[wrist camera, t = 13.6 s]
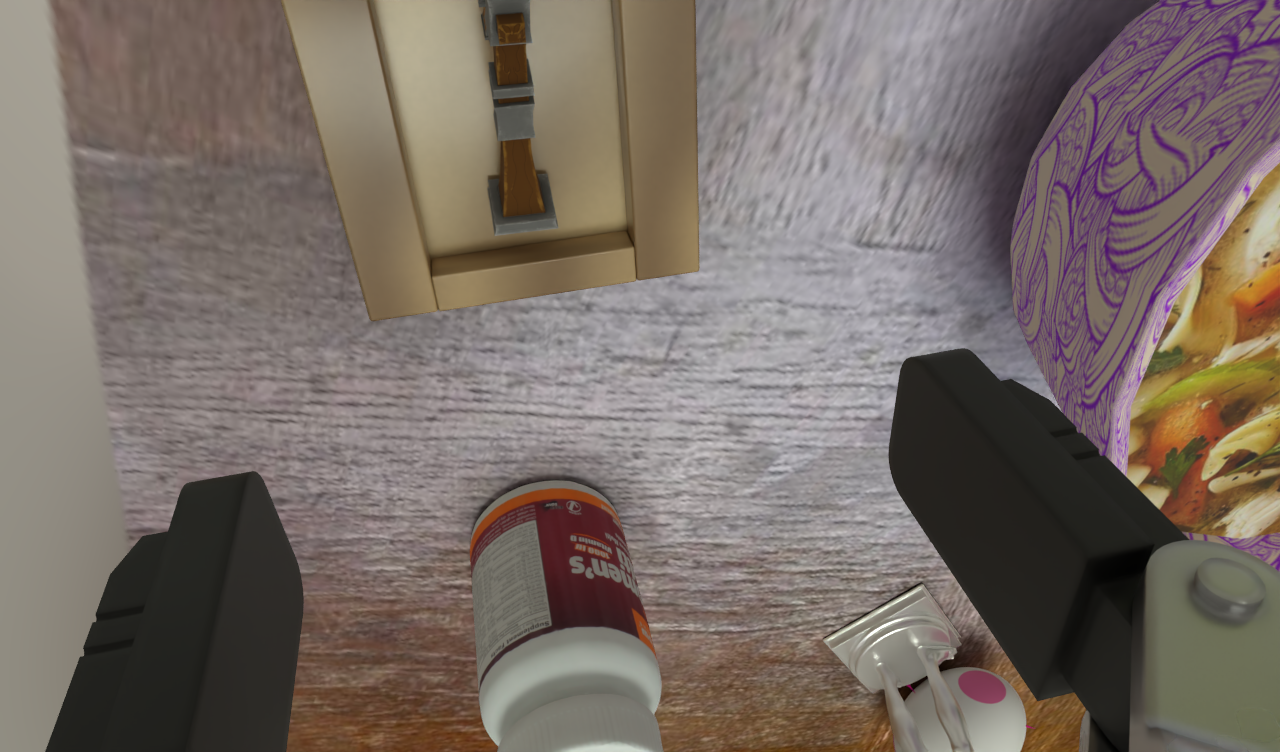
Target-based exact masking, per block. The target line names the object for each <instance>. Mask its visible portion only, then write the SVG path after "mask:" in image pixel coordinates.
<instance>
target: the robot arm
mask: <svg viewBox="0 0 1280 752" xmlns="http://www.w3.org/2000/svg"><path fill="white" fill-rule="evenodd" d="M889 464H890V470H891V474H892V478H893V481H894V484H895V486H896V488H897V491H898V493H899V494H900V496H901V498H902V499H903V501H904V502H905V504H906V505H907V507H908V508H909V510H910V511H911V513H912V514H913V516H914V517H915V519H916V520H917V522H918V523H919V525H920V526H921V527H922V529H923V530H924V532H925V533H926V535H927V536H928V538H929V539H930V541H931V542H932V544H933V545H934V547H935V548H936V550H937V551H938V553H939V554H940V556H941V557H942V559H943V560H944V562H945V563H946V565H947V566H948V568H949V569H950V571H951V572H952V574H953V575H954V577H955V578H956V580H957V581H958V583H959V584H960V586H961V587H962V589H963V590H964V592H965V593H966V595H967V596H968V598H969V599H970V601H971V602H972V604H973V605H974V607H975V608H976V610H977V611H978V613H979V614H980V616H981V617H982V619H983V620H984V622H985V623H986V625H987V626H988V628H989V629H990V631H991V632H992V634H993V635H994V637H995V638H996V640H997V641H998V643H999V644H1000V646H1001V647H1002V649H1003V650H1004V652H1005V653H1006V655H1007V656H1008V658H1009V659H1010V661H1011V662H1012V664H1013V665H1014V667H1015V668H1016V670H1017V671H1018V673H1019V674H1020V676H1021V677H1022V679H1023V680H1024V682H1025V683H1026V685H1027V686H1028V688H1029V689H1030V690H1031V692H1032V693H1033V695H1034V696H1035V698H1036V699H1037V701H1040V700H1044V699H1048V698H1052V697H1056V696H1061V695H1065V694H1069V693H1073V692H1075V694H1076V695H1077V697H1078V698H1079V699H1080V701H1081V702H1082V704H1083V705H1084V706H1085V708H1086V709H1087V710H1086V712H1085V715H1084V717H1083V720H1082V724H1081V731H1080V746H1079V752H1280V572H1279V571H1278V570H1276V569H1275V568H1274V567H1272V566H1271V565H1269V564H1268V563H1266V562H1264V561H1263V560H1261V559H1259V558H1257V557H1255V556H1253V555H1251V554H1250V553H1247V552H1245V551H1242V550H1240V549H1237V548H1235V547H1231V546H1228V545H1225V544H1221V543H1216V542H1211V541H1202V540H1190V539H1188V538H1187V537H1186V536H1185V535H1184V534H1183V533H1182V532H1181V531H1180V530H1179V529H1178V528H1177V527H1176V526H1175V525H1174V524H1173V523H1172V522H1171V521H1170V520H1169V519H1168V518H1167V517H1166V516H1165V515H1164V514H1163V513H1162V512H1161V511H1160V510H1159V509H1158V508H1157V507H1156V506H1155V505H1154V504H1153V503H1152V502H1151V501H1150V500H1149V499H1148V498H1147V497H1146V496H1145V495H1144V494H1143V493H1142V492H1141V491H1140V490H1139V489H1138V488H1137V487H1136V486H1135V485H1134V484H1133V483H1132V482H1131V481H1130V480H1129V479H1128V478H1127V477H1126V476H1125V475H1124V474H1123V473H1122V472H1121V471H1120V470H1119V469H1118V468H1117V467H1116V466H1115V465H1114V464H1113V463H1112V462H1111V461H1110V460H1109V459H1108V458H1107V457H1106V456H1105V455H1103V456H1101V455H1100V454H1099V449H1098V448H1097V447H1096V446H1095V445H1094V444H1093V443H1092V442H1091V441H1090V440H1089V439H1088V438H1087V437H1086V436H1085V435H1084V434H1083V433H1078V432H1077V427H1076V426H1075V425H1074V424H1073V423H1072V422H1071V421H1070V420H1069V419H1068V418H1067V417H1066V416H1065V415H1064V414H1063V413H1062V412H1061V411H1060V410H1059V409H1058V408H1057V407H1056V406H1055V405H1054V404H1053V403H1052V402H1051V401H1050V400H1049V399H1047V398H1045V397H1043V396H1041V395H1039V394H1038V393H1036V392H1034V391H1032V390H1030V389H1028V388H1027V387H1025V386H1023V385H1021V384H1019V383H1017V382H1016V381H1014V380H1012V379H1009V380H1004V381H1000V380H999V379H998V378H997V377H996V376H995V375H994V374H993V373H992V372H991V371H990V370H989V369H988V368H987V367H986V365H985V364H984V363H983V362H982V361H981V360H980V359H979V358H978V357H977V356H976V355H975V354H974V353H973V352H972V351H970V350H968V349H965V348H961V349H955V350H949V351H944V352H938V353H932V354H927V355H921V356H915V357H910V358H908V359H906V360H905V361H904V363H903V365H902V367H901V370H900V375H899V382H898V389H897V396H896V403H895V409H894V416H893V423H892V430H891V437H890V443H889ZM303 604H304V602H303V587H302V580H301V574H300V570H299V566H298V563H297V560H296V557H295V555H294V552H293V550H292V548H291V545H290V543H289V540H288V538H287V535H286V533H285V531H284V528H283V526H282V523H281V521H280V519H279V516H278V514H277V511H276V509H275V506H274V504H273V502H272V499H271V497H270V494H269V492H268V490H267V487H266V485H265V483H264V481H263V479H262V477H261V476H260V475H259V474H258V473H257V472H255V471H252V472H246V473H241V474H235V475H229V476H224V477H218V478H212V479H207V480H201V481H195V482H190V483H187V484H185V485H184V487H183V488H182V490H181V492H180V495H179V498H178V501H177V505H176V508H175V511H174V514H173V517H172V521H171V524H170V527H169V530H168V532H163V533H157V534H152V535H146V536H142V537H141V539H140V540H139V541H138V542H137V543H136V545H135V546H134V547H133V548H132V549H131V550H130V552H129V553H128V554H127V555H126V556H125V558H124V559H123V560H122V561H121V562H120V564H119V565H118V566H117V567H116V568H115V569H114V571H113V572H112V573H111V574H110V577H109V579H108V582H107V585H106V587H105V590H104V593H103V596H102V598H101V601H100V604H99V607H98V609H97V612H96V618H97V621H96V622H94V623H92V626H91V628H90V631H89V634H88V637H87V640H86V642H85V645H84V648H83V649H84V656H83V657H80V658H79V661H78V664H77V667H76V669H75V672H74V675H73V678H72V680H71V683H70V686H69V689H68V691H67V694H66V697H65V699H64V702H63V705H62V708H61V710H60V713H59V716H58V719H57V722H56V724H55V727H54V730H53V732H52V735H51V738H50V740H49V743H48V746H47V749H46V751H45V752H286V747H287V739H288V731H289V723H290V715H291V707H292V699H293V691H294V683H295V675H296V666H297V658H298V650H299V642H300V634H301V626H302V618H303Z"/></svg>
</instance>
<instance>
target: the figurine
mask: <svg viewBox="0 0 1280 752" xmlns="http://www.w3.org/2000/svg"><path fill="white" fill-rule="evenodd" d="M960 637H961V636H960V635H959V633H958V632H957V630H956V629H955V628H954V626H953V625H952V623H951V622H950V621H949V619H948V618H947V617H946V615H945V614H944V612H943V611H942V610H941V608H940V607H939V605H938V604H937V603H936V601H935V600H934V598H933V597H932V596H931V594H930V593H929V592H928V590H927V589H926V587H925V586H924V585H923V584H920V585H919V586H917V587H915V588H913V589H912V590H910V591H908V592H906V593H904V594H903V595H901V596H899V597H897V598H896V599H894V600H892V601H890V602H888V603H887V604H885V605H883V606H881V607H880V608H878V609H876V610H874V611H872V612H871V613H869V614H867V615H865V616H864V617H862V618H860V619H858V620H856V621H855V622H853V623H851V624H849V625H847V626H846V627H844V628H842V629H840V630H839V631H837V632H835V633H833V634H831V635H830V636H828V637H826V638H824V639H823V641H824V642H825V643H826V645H827V646H828V647H829V648H830V649H831V650H832V651H833V652H834V653H835V654H836V655H837V656H838V657H839V659H840V660H841V661H842V662H843V663H844V664H845V665H846V666H847V667H848V668H849V669H850V670H851V672H852V674H853V675H854V676H855V677H856V678H858V680H859V681H860V682H861V683H862V684H864V686H865V687H866V688H868V689H869V690H870V692H871V693H874V692H876V691H878V690H880V689H884V690H885V699H886V705H887V710H888V715H889V720H890V725H891V729H892V732H893V735H894V737H895V739H896V741H897V743H898V745H899V746H900V748H901V749H902V751H903V752H929V751H928V750H927V748H926V747H925V745H924V743H923V741H922V738H921V735H920V732H919V729H918V727H917V724H916V722H915V720H914V718H913V716H912V715H911V713H910V712H909V711H908V709H907V707H906V705H905V703H904V701H903V699H902V697H901V695H900V693H899V691H898V687H899V688H901V687H902V686H906V685H909V684H911V683H914V682H916V681H918V680H920V679H922V678H924V677H925V676H928V680H929V684H930V688H931V691H932V694H933V697H934V703H935V709H936V713H937V716H938V719H939V721H940V723H941V725H942V727H943V729H944V730H945V732H946V734H947V736H948V738H949V741H950V744H951V748H952V752H975V751H974V748H973V745H972V742H971V739H970V735H969V730H968V726H967V723H966V720H965V717H964V714H963V712H962V710H961V708H960V706H959V704H958V702H957V700H956V698H955V696H954V695H953V693H952V691H951V689H950V687H949V686H948V684H947V682H946V681H945V679H944V678H943V676H942V675H941V673H940V671H939V667H938V666H939V665H940V664H941V663H942V662H943V661H944V660H949V659H954V655H955V653H957V651H956V648H957V647H959V646H961V645H962V644H961V643H960V641H959V639H958V638H960Z"/></svg>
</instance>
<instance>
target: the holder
mask: <svg viewBox="0 0 1280 752" xmlns="http://www.w3.org/2000/svg"><path fill="white" fill-rule="evenodd" d="M281 3H282V7H283V10H284V14H285V17H286V21H287V25H288V28H289V32H290V35H291V39H292V43H293V46H294V50H295V53H296V57H297V60H298V64H299V68H300V71H301V75H302V78H303V82H304V86H305V89H306V93H307V96H308V100H309V104H310V107H311V111H312V114H313V118H314V121H315V125H316V129H317V132H318V136H319V139H320V143H321V147H322V150H323V154H324V157H325V161H326V165H327V168H328V172H329V175H330V179H331V182H332V186H333V190H334V193H335V197H336V200H337V204H338V208H339V211H340V215H341V218H342V222H343V226H344V229H345V233H346V236H347V240H348V243H349V247H350V251H351V254H352V258H353V261H354V265H355V269H356V272H357V276H358V279H359V283H360V287H361V290H362V294H363V297H364V301H365V304H366V308H367V312H368V315H369V319H370V320H371V321H377V320H384V319H390V318H397V317H404V316H410V315H417V314H423V313H430V312H436V311H438V309H439V311H445V310H451V309H458V308H464V307H471V306H477V305H484V304H490V303H497V302H503V301H510V300H517V299H523V298H530V297H536V296H543V295H549V294H556V293H562V292H569V291H575V290H582V289H588V288H595V287H602V286H608V285H615V284H621V283H628V282H634V281H636V278H637V280H645V279H652V278H658V277H665V276H671V275H678V274H684V273H691V272H697V271H699V206H698V139H697V72H696V5H695V0H530V32H531V37H532V42H533V43H527V44H526V57H527V59H528V60H529V65H530V70H531V75H532V80H533V85H534V88H533V89H534V94H535V96H533V98H534V103H535V105H534V109H533V126H534V132H535V137H536V138H530V139H531V149H532V156H533V161H534V166H535V169H536V172H537V175H538V174H548V179H549V183H550V188H551V193H552V198H553V203H554V208H555V213H556V218H557V223H558V227H559V228H557V229H549V230H540V231H532V232H523V233H515V234H506V235H498V236H495V235H494V228H493V222H492V215H491V209H490V202H489V196H488V190H487V188H488V187H489V184H488V180H492V179H499V177H500V154H501V141H498V140H497V134H496V128H495V122H494V116H493V113H494V104H493V98H492V92H491V86H490V81H489V80H490V78H489V72H488V70H489V64H488V62H494V55H493V46H490V42H489V40H485V37H484V32H483V26H482V20H481V14H482V13H483V7H479V4H478V0H281Z"/></svg>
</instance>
